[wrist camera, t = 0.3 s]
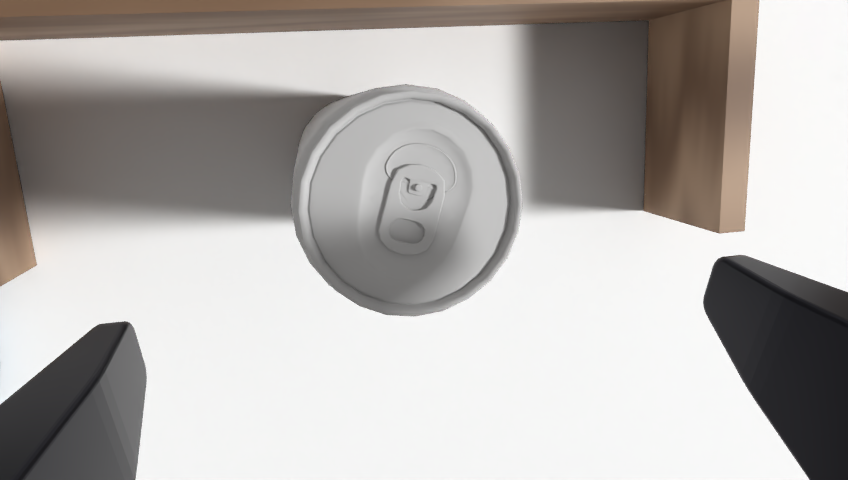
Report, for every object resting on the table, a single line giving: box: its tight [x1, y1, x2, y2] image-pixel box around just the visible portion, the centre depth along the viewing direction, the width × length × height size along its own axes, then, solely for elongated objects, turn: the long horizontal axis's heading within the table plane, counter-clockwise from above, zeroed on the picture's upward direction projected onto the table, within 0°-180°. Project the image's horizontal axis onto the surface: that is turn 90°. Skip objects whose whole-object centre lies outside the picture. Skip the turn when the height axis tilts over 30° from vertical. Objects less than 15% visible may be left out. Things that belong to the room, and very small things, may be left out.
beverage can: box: [291, 84, 523, 316], centre depth 18 cm, size 5×5×12 cm
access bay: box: [0, 0, 759, 286], centre depth 21 cm, size 9×26×5 cm, turn 93°
